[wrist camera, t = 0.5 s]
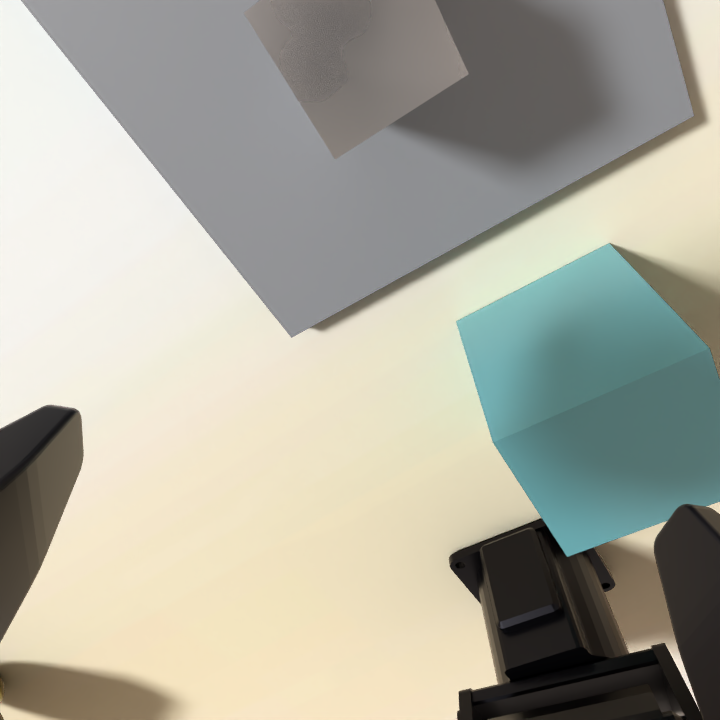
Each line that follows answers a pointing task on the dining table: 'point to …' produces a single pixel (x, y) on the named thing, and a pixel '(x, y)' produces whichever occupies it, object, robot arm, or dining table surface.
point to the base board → (385, 148)
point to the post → (358, 60)
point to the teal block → (597, 400)
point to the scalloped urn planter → (1, 694)
